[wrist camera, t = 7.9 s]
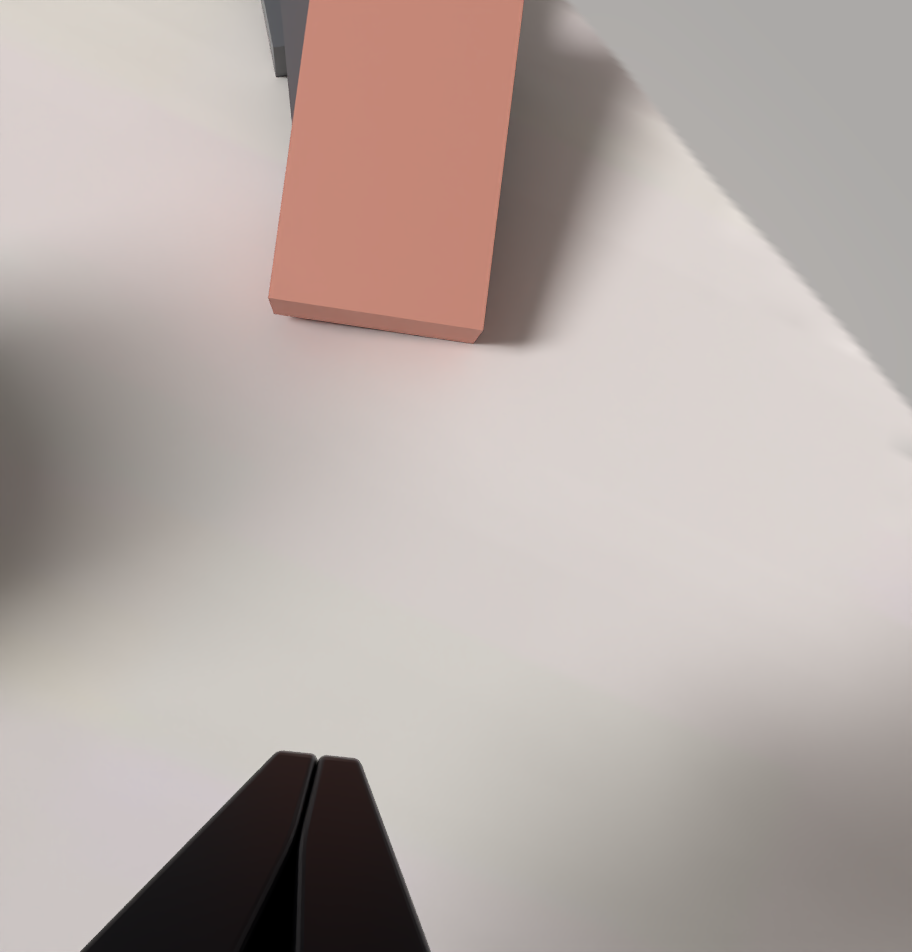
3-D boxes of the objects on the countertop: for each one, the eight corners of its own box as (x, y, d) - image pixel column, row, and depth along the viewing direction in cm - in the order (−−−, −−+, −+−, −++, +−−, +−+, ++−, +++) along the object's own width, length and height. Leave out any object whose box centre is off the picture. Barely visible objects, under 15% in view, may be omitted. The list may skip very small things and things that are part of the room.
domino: (483, 330, 20) (533, -76, 21) (268, 298, 20) (325, -119, 20) (473, 343, 22) (519, -34, 23) (274, 313, 21) (327, -74, 22)
